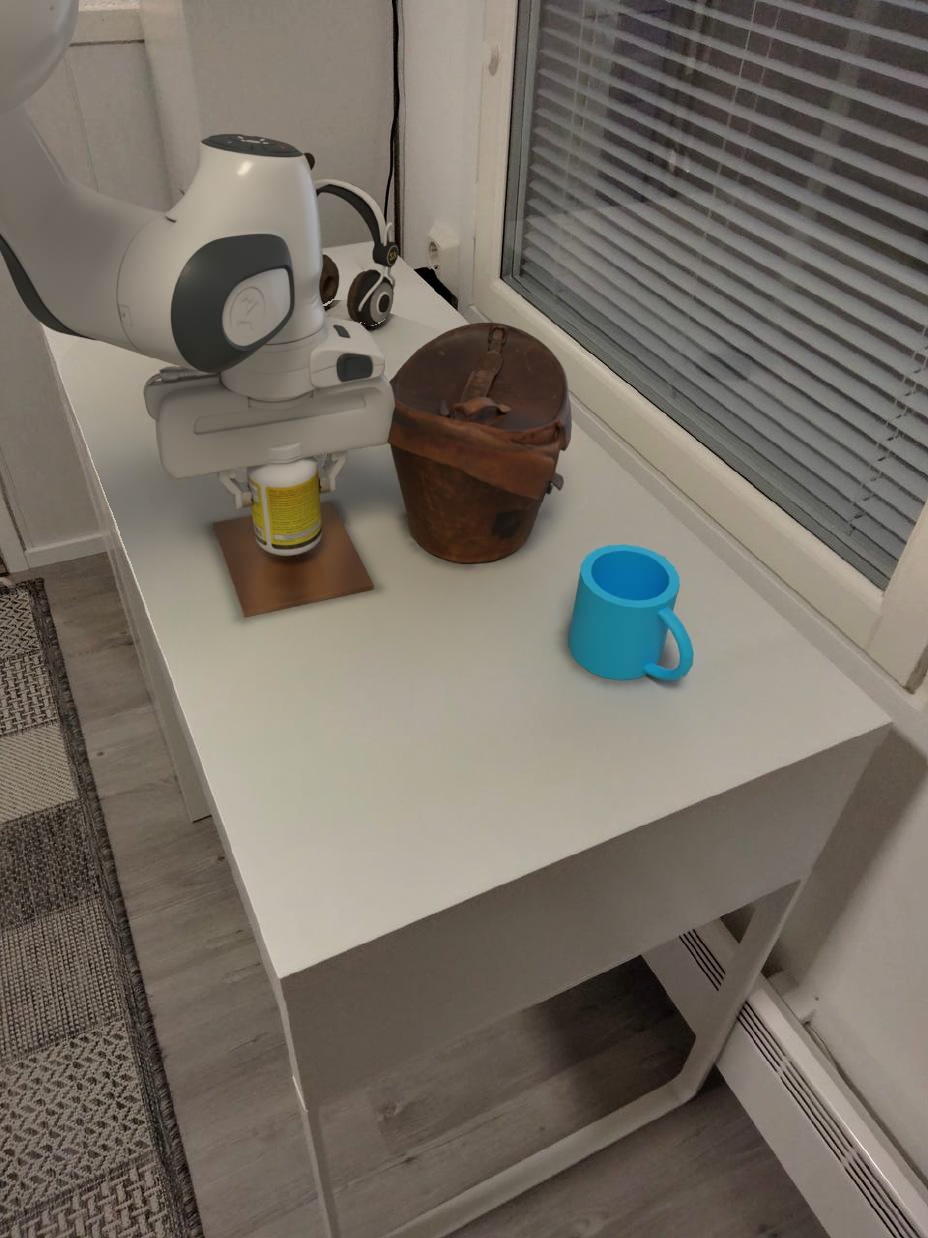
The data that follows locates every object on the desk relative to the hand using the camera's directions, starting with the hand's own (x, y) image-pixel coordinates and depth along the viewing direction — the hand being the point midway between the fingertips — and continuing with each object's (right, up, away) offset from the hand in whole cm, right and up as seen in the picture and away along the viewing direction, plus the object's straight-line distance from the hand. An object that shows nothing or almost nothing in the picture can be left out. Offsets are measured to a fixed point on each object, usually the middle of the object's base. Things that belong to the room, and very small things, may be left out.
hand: (285, 496), depth 85 cm
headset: (0, +30, +44) cm, 53 cm away
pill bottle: (0, -4, +3) cm, 5 cm away
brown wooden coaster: (0, -5, +5) cm, 7 cm away
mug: (+30, -15, -3) cm, 34 cm away
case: (+17, -2, +10) cm, 19 cm away
